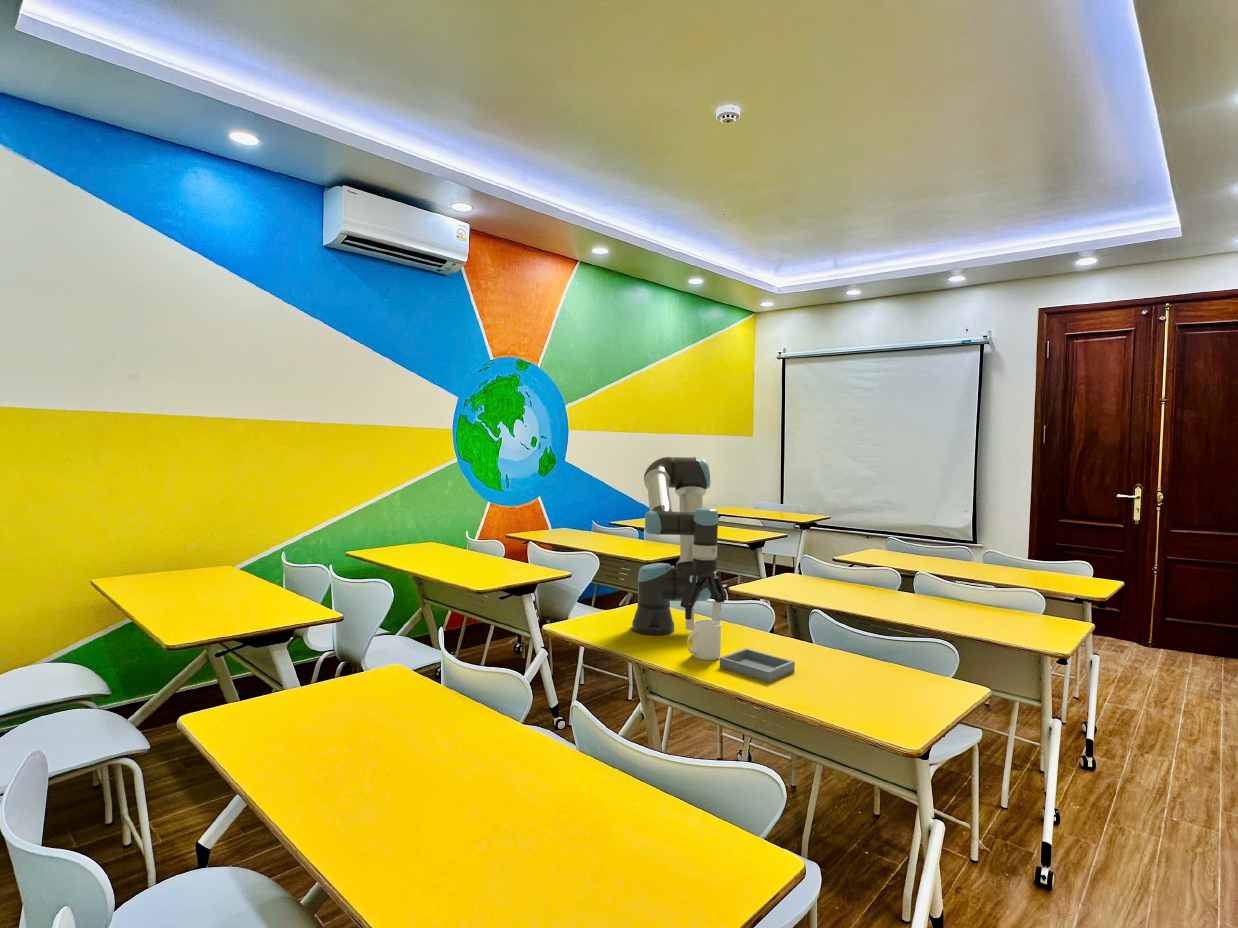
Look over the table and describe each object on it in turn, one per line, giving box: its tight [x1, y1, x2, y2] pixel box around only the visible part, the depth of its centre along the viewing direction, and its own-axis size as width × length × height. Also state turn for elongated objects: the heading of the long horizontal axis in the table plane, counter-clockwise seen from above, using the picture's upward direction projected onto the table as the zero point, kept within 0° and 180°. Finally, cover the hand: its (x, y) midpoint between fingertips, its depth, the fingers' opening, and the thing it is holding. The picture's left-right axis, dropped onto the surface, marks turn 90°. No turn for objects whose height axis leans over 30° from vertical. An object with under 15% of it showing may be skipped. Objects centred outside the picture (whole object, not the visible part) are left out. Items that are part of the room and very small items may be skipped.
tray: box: [719, 648, 796, 684], centre depth 199 cm, size 17×14×3 cm
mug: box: [686, 618, 722, 662], centre depth 210 cm, size 9×12×11 cm
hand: (703, 625), depth 209 cm, fingers open, 13 cm apart
